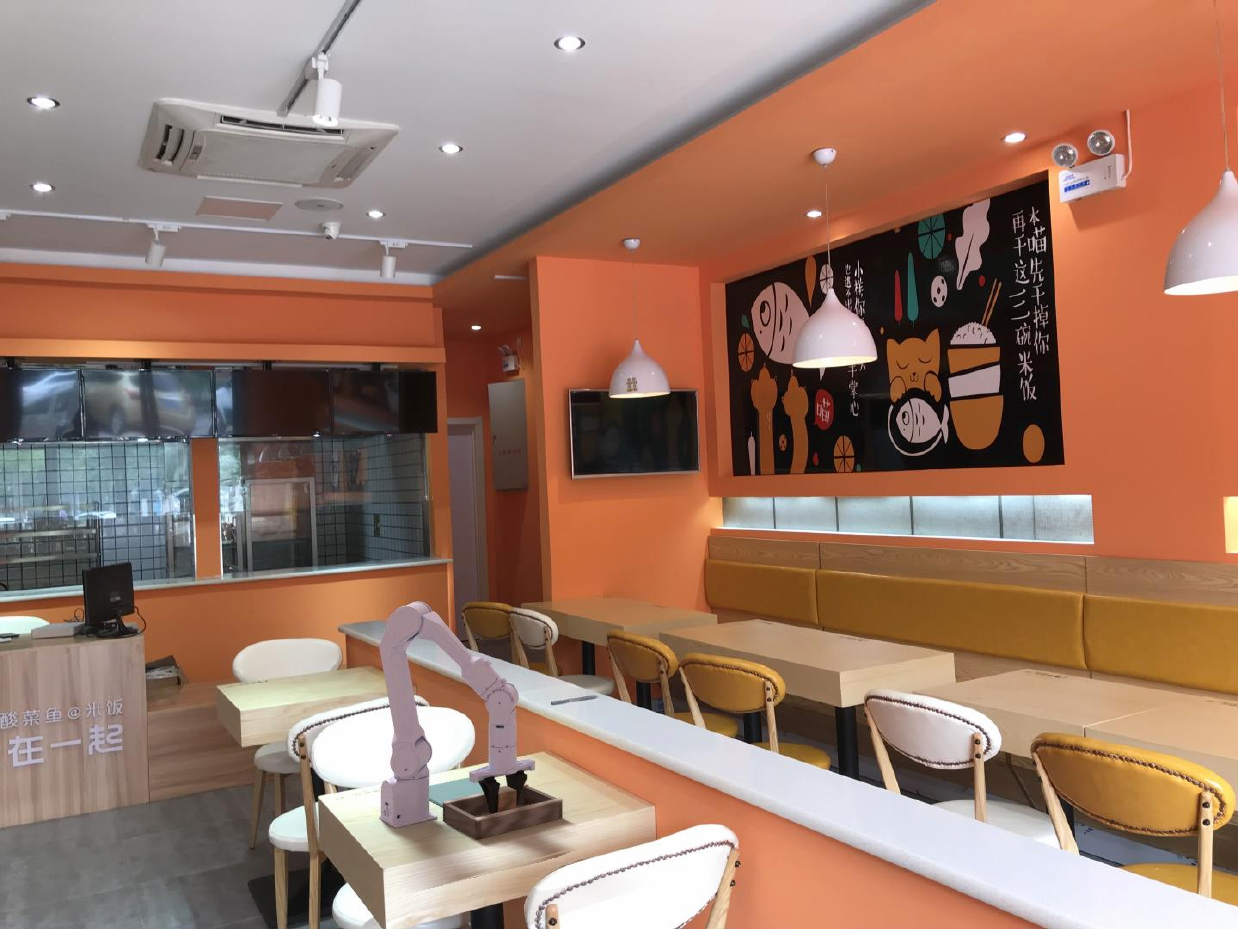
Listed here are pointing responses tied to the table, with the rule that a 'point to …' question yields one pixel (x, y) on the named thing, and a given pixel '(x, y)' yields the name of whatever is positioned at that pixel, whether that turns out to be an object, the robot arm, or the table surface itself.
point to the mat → (453, 790)
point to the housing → (501, 813)
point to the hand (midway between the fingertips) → (502, 811)
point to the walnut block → (506, 799)
